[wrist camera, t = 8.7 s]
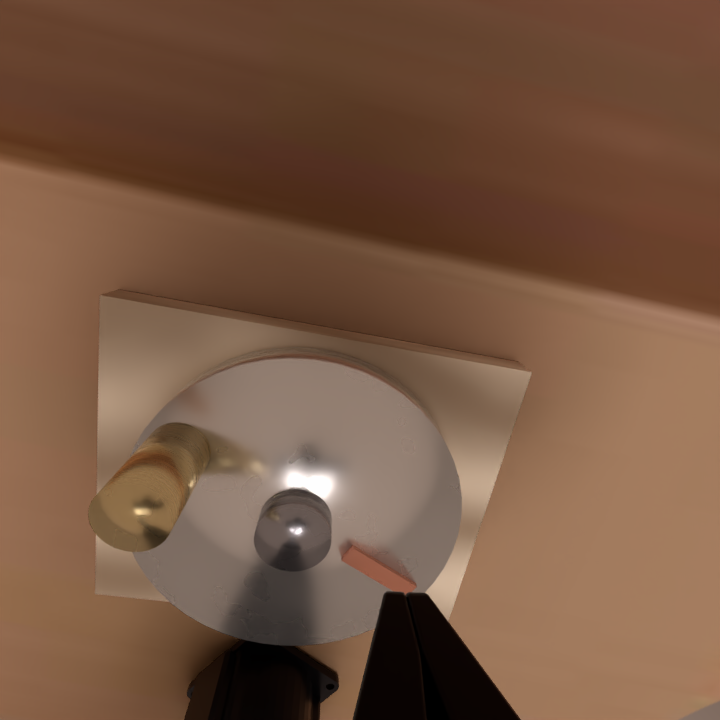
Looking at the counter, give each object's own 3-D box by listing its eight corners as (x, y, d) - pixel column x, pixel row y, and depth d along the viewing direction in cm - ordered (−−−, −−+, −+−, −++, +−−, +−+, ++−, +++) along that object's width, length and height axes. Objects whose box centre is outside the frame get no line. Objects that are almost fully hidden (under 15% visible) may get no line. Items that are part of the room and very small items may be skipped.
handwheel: (513, 465, 19) (583, 561, 14) (329, 652, 22) (327, 792, 17) (257, 276, 16) (216, 302, 11) (83, 522, 19) (-21, 643, 14)
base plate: (438, 607, 24) (445, 631, 23) (110, 570, 22) (94, 594, 21) (518, 361, 20) (532, 372, 18) (118, 289, 18) (99, 295, 16)
